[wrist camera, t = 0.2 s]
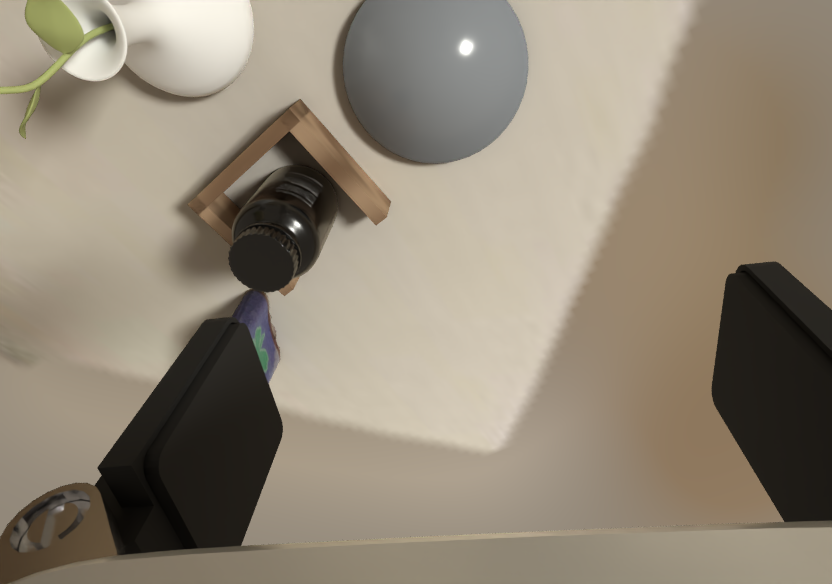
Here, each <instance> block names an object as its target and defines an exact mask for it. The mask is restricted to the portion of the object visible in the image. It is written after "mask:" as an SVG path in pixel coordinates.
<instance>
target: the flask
mask: <svg viewBox="0 0 832 584" xmlns="http://www.w3.org/2000/svg"><path fill="white" fill-rule="evenodd" d="M269 308H270V307H269V301H268V296H267V295H266V294H265V293H264V292H260V291H258V290H253V289H250V290H247V292H246V293H245V295H244V297H243V299H242V301H241V303H240V304H239V305H238V307H237V308H236V310H235V312H234V314H233V316H232V317H234V318H236V319H237V320H238V321H239V323H245V324H246V325H247V327H248V329H249V331H250V334H251V337H252V339H253V342H254V345H255V348H256V351H257V353H258V356H259V359H260V362H261V364H262V367H263V370H264V373H265V376H266V378H267V381H268V384H269V381H270V379H271V377H272V375H273V373H274V371H275V369H276V367H277V365H278V363H279V361H280V347H278V345H277V342H276V331H275V327H274V326H273V324H272V323H271V322H270V321H271V320H270V319H271V318H272V317H271V315H270V314H269Z"/></svg>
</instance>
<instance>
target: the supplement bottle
mask: <svg viewBox="0 0 832 584" xmlns="http://www.w3.org/2000/svg"><path fill="white" fill-rule="evenodd" d="M337 212H338V200H337V196H336V193H335V190H334V188H333V186H332V185H331V183H330V182H329V181H328V180H327V179H326V178H325V177H324V176H323V175H322V174H321V173H319V172H318V171H316V170H314V169H312V168H309V167H306V166H301V165H290V166H285V167H282V168H280V169H278V170H276V171H275V172H273V173H272V174H271V175H270V176H269V177H268V178H267V179H266V180H265V181H264V183H263V184H262V185H261V186H260V187H259V189H258V190H257V191H256V192H255V193H254V194H253V196H252V197H251V198H250V199H249V200H248V202H247V203H246V204H245V205H244V206H243V208H242V209H241V210H240V211H239V213H238V214H237V216H236V218H235V220H234V222H233V226H232V242H233V244H232V245H231V247H230V251H229V257H228V259H229V265H230V267H231V271H232V272H233V274H234V276H236V277H237V279H238V280H239V281H241V282H242V284H244V285H246V286H247V287H248V288H252V289H253V290H258V291H260V292H274V291H276V290H280V289H281V288H284V287H285V286H286V285H288V284H289V283H290V281H291V280H292V279H294V278H297V277H299V276H301V275H303V274H305V273H306V272H307V271H309V270H310V269H311V268H312V266H313V265H314V264H315V262H316V260H317V259H318V257H319V255H320V252H321V250H322V248H323V246H324V244H325V241H326V239H327V237H328V235H329V233H330V230H331V228H332V226H333V224H334V221H335V219H336V216H337Z"/></svg>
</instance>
